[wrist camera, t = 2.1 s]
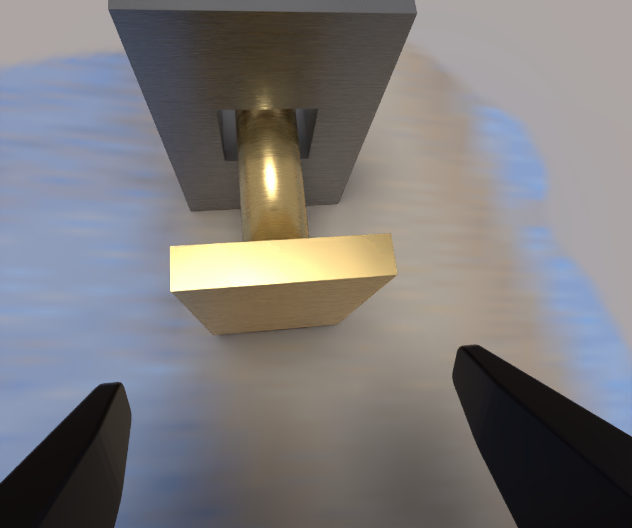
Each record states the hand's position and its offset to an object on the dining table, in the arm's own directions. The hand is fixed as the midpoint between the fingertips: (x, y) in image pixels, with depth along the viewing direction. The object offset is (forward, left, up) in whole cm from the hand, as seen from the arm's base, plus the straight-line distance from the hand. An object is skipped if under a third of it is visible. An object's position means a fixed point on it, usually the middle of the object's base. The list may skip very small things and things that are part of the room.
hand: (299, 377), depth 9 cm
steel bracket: (+11, 0, -13) cm, 17 cm away
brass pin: (+7, 0, -12) cm, 14 cm away
